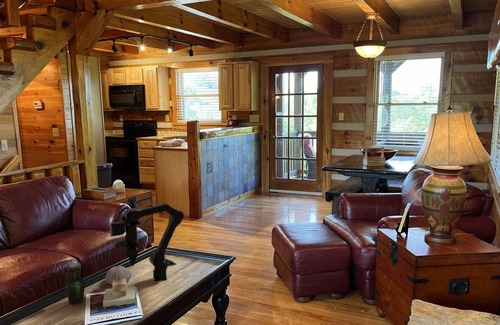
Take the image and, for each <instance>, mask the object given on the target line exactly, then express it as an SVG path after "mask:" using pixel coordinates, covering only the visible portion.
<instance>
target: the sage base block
mask: <svg viewBox="0 0 500 325" xmlns="http://www.w3.org/2000/svg"><path fill="white" fill-rule="evenodd" d="M103 295H104V296H103V301H102V305H103V306H102V307H104V306H109V305H123V304H132V303H135V304H136V286H135V285H132V286H127V293H126V296H120V297H113V288H107V289H106V288H105V291H104V294H103Z"/></svg>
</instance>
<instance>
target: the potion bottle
mask: <svg viewBox="0 0 500 325" xmlns="http://www.w3.org/2000/svg"><path fill="white" fill-rule="evenodd" d="M69 268H70V269H69V270H68V271H67V274H68V275H70V279H68V280H67V281H66V283H65V288H66V292H67V294H66V295H67V301H68V304H70V305H78V304H81V303H83V302H84V300H85V279H84V278H82V277H80V276H79V275H80V273H82V269H81V268H80V267H79V263H71V264H70V265H69Z"/></svg>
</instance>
